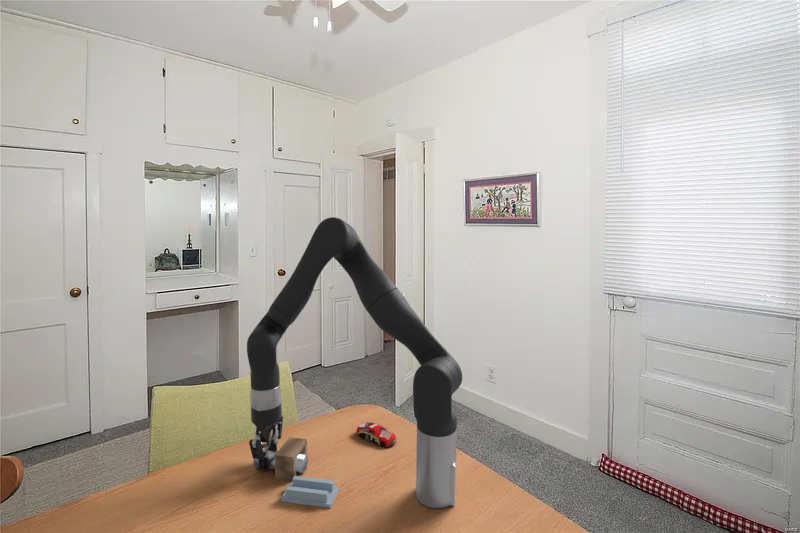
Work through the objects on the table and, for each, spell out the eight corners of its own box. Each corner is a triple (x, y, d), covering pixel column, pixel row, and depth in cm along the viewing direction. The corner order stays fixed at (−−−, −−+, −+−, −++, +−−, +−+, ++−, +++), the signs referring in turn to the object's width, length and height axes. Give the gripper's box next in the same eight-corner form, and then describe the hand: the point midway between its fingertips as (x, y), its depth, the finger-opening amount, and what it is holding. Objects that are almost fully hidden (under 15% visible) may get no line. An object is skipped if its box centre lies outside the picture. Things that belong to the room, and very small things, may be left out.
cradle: (338, 490, 99) (338, 479, 98) (330, 507, 93) (330, 496, 93) (291, 484, 101) (291, 474, 100) (280, 501, 95) (280, 490, 95)
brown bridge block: (307, 461, 110) (306, 439, 109) (294, 481, 102) (293, 457, 101) (289, 459, 111) (289, 437, 110) (275, 479, 103) (274, 455, 102)
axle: (308, 466, 108) (307, 450, 108) (301, 476, 104) (300, 460, 103) (262, 460, 110) (261, 445, 110) (253, 471, 106) (253, 455, 105)
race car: (400, 443, 120) (400, 430, 120) (388, 451, 116) (388, 438, 115) (366, 428, 128) (366, 416, 127) (354, 436, 124) (354, 423, 123)
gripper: (266, 389, 113) (268, 447, 115) (237, 414, 99) (240, 479, 101) (291, 391, 112) (293, 450, 114) (266, 416, 98) (268, 483, 100)
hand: (268, 463), depth 108 cm, fingers closed on axle, 4 cm apart
